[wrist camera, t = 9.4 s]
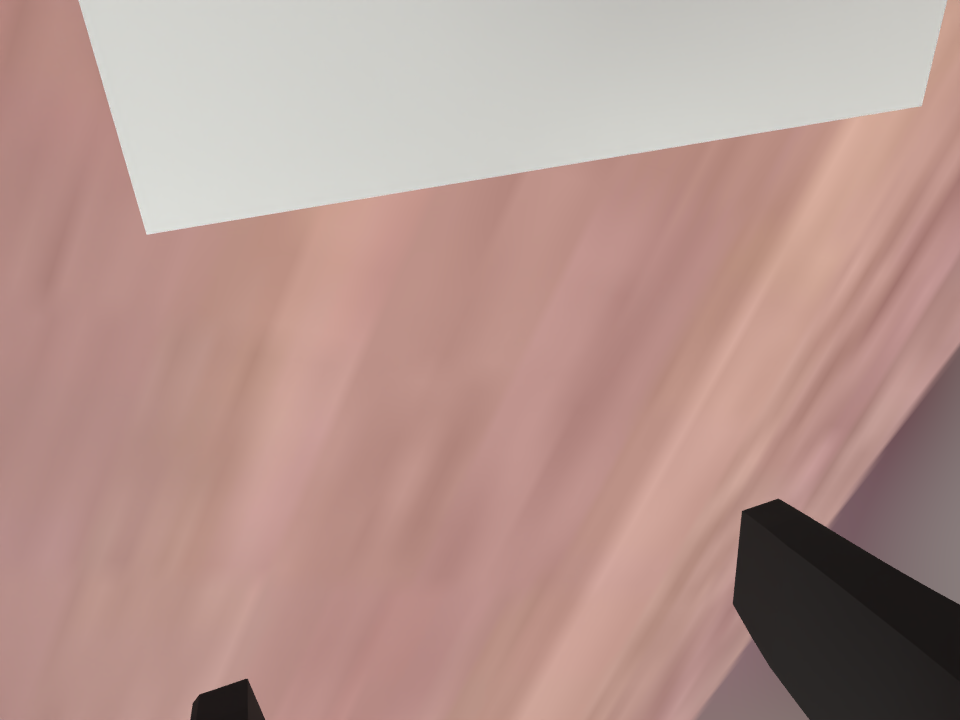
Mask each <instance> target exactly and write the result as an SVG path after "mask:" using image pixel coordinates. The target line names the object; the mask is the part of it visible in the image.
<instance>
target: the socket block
mask: <svg viewBox="0 0 960 720" xmlns="http://www.w3.org/2000/svg"><path fill="white" fill-rule="evenodd" d="M79 3H80V7H81V10H82V14H83V17H84V20H85V24H86V27H87V31H88V34H89V38H90V41H91V45H92V48H93V51H94V55H95V58H96V62H97V65H98V69H99V72H100V76H101V79H102V82H103V86H104V89H105V93H106V96H107V100H108V103H109V106H110V110H111V113H112V117H113V120H114V124H115V127H116V131H117V134H118V137H119V141H120V144H121V148H122V151H123V155H124V158H125V162H126V165H127V168H128V172H129V175H130V179H131V182H132V186H133V189H134V192H135V196H136V199H137V203H138V206H139V210H140V213H141V217H142V220H143V223H144V227H145V230H146V234H153V233H159V232H165V231H171V230H177V229H183V228H189V227H195V226H201V225H207V224H213V223H220V222H226V221H232V220H238V219H244V218H250V217H256V216H262V215H268V214H274V213H280V212H286V211H292V210H298V209H304V208H310V207H316V206H322V205H328V204H334V203H340V202H346V201H352V200H358V199H364V198H370V197H376V196H382V195H388V194H394V193H400V192H406V191H412V190H418V189H424V188H431V187H437V186H443V185H449V184H455V183H461V182H467V181H473V180H479V179H485V178H491V177H497V176H503V175H509V174H515V173H521V172H527V171H533V170H539V169H545V168H551V167H557V166H563V165H569V164H575V163H581V162H587V161H593V160H599V159H605V158H611V157H617V156H623V155H629V154H636V153H642V152H648V151H654V150H660V149H666V148H672V147H678V146H684V145H690V144H696V143H702V142H708V141H714V140H720V139H726V138H732V137H738V136H744V135H750V134H756V133H762V132H768V131H774V130H780V129H786V128H792V127H798V126H804V125H810V124H816V123H822V122H828V121H834V120H840V119H847V118H853V117H859V116H865V115H871V114H877V113H883V112H889V111H895V110H901V109H907V108H913V107H919V106H922V102H923V98H924V94H925V90H926V86H927V82H928V77H929V73H930V69H931V65H932V61H933V57H934V53H935V48H936V44H937V40H938V36H939V32H940V28H941V23H942V19H943V15H944V11H945V7H946V3H947V0H79Z"/></svg>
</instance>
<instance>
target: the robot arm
mask: <svg viewBox="0 0 960 720" xmlns="http://www.w3.org/2000/svg"><path fill="white" fill-rule="evenodd" d="M733 605H734V607H735V609H736V610H737V612H738V614H739V616H740V617H741V619H742V621H743V623H744V624H745V626H746V628H747V630H748V631H749V633H750V635H751V637H752V638H753V640H754V642H755V643H756V645H757V646H758V648H759V650H760V651H761V653H762V655H763V656H764V658H765V660H766V661H767V663H768V665H769V666H770V668H771V669H772V670H773V672H774V673H775V674H776V676H777V677H778V678H779V680H780V681H781V683H782V684H783V685H784V686H785V688H786V689H787V690H788V692H789V693H790V694H791V696H792V697H793V698H794V700H795V701H796V702H797V704H798V705H799V706H800V708H801V709H802V710H803V712H804V713H805V714H806V716H807V717H808V718H809V719H810V720H960V605H959V604H957V603H956V602H954V601H952V600H950V599H948V598H946V597H945V596H943V595H941V594H939V593H937V592H935V591H934V590H932V589H930V588H928V587H927V586H925V585H923V584H921V583H919V582H918V581H916V580H914V579H913V578H911V577H909V576H907V575H906V574H903V573H902V572H900V571H899V570H897V569H895V568H893V567H892V566H890V565H888V564H887V563H885V562H883V561H882V560H880V559H878V558H876V557H875V556H873V555H871V554H870V553H868V552H866V551H865V550H863V549H861V548H860V547H858V546H856V545H855V544H853V543H851V542H850V541H848V540H846V539H845V538H843V537H841V536H840V535H838V534H836V533H835V532H833V531H831V530H830V529H828V528H827V527H825V526H823V525H822V524H820V523H818V522H817V521H815V520H813V519H812V518H810V517H808V516H807V515H805V514H804V513H802V512H800V511H799V510H797V509H795V508H794V507H792V506H790V505H788V504H787V503H785V502H783V501H782V500H780V499H776V500H773V501H770V502H767V503H764V504H761V505H758V506H755V507H752V508H749V509H746V510H744V511H742V517H741V527H740V537H739V547H738V557H737V567H736V577H735V587H734V597H733ZM191 720H265V718H264V716H263V714H262V711H261V709H260V707H259V704H258V702H257V700H256V697H255V695H254V693H253V690H252V688H251V686H250V683H249V681H248V679H244V680H241V681H238V682H235V683H232V684H230V685H227V686H224V687H221V688H218V689H215V690H212V691H209V692H206V693H203V694H200V695H199V696H198V697H197V699H196V700H195V701H194V703H193V706H192V713H191Z"/></svg>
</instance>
